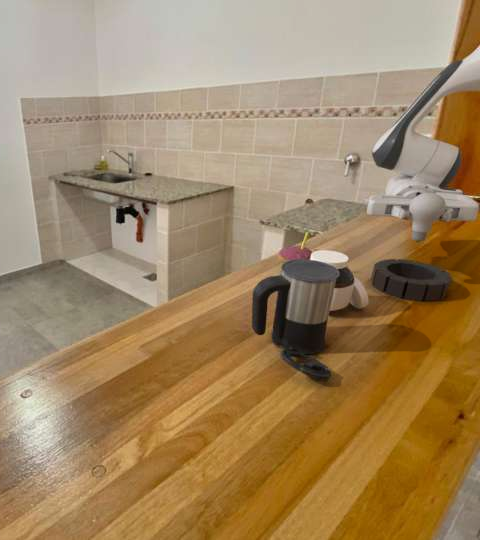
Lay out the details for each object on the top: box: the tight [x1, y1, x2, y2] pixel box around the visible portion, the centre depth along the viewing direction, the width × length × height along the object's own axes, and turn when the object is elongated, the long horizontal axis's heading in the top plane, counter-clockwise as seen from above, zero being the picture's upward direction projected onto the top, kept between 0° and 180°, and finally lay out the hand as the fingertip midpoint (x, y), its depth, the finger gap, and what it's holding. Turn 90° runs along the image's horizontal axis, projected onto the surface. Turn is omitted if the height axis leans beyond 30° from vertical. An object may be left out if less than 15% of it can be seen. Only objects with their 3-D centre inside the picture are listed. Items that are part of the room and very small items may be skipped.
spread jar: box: [310, 249, 369, 315], centre depth 80 cm, size 12×11×12 cm
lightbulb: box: [409, 193, 446, 243], centre depth 82 cm, size 6×6×11 cm
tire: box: [370, 258, 453, 303], centre depth 87 cm, size 14×14×4 cm
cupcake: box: [277, 229, 314, 265], centre depth 95 cm, size 9×8×12 cm
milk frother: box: [251, 259, 339, 381], centre depth 65 cm, size 14×16×15 cm
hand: (425, 217), depth 81 cm, fingers closed on lightbulb, 6 cm apart
